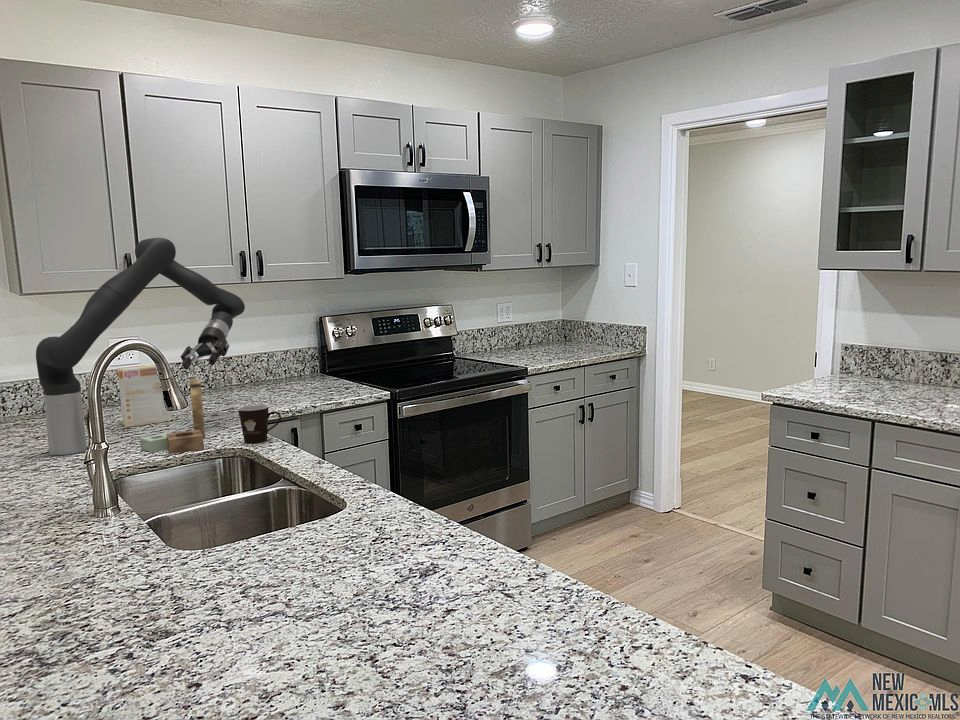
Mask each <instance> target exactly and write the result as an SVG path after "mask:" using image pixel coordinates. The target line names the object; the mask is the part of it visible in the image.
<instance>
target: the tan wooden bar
mask: <svg viewBox="0 0 960 720" xmlns="http://www.w3.org/2000/svg"><path fill="white" fill-rule="evenodd" d="M201 381H202V380H201V378H200V379H199V378H196V379H190V380H189V387H190V398H191V399H190V400H191V410H192V411H191V412H192V420H193V421H192V422H193V423H192V424H193V430H200V431H201V433H202V435H203V440H205V439H206V431H205V419H204V416H205V415H204V407H203V395H202V393H203V392H202V383H201ZM204 438H205V439H204Z"/></svg>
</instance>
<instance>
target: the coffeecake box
mask: <svg viewBox="0 0 960 720" xmlns="http://www.w3.org/2000/svg"><path fill="white" fill-rule="evenodd" d="M155 365H156V364H148V365H136V366H128V367H127V366H126V367H117V377H118V386H119V395H120V396H119V397H120V406H121V407H120V408H121V416H122V423H123V426H124V427H125V428H128V427H137V426H143V425H144V426H146V425H151V424H152V423H153V424H160V423H166V422H165V421H168V422H172V421H171V420H173V419H174V418H173V410H172V411H167V410H166V408H165V405H164V401H163V397H162V391H161V388H160V384H159V379H158V376H157V369H156V366H155ZM153 424H152V425H153Z"/></svg>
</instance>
